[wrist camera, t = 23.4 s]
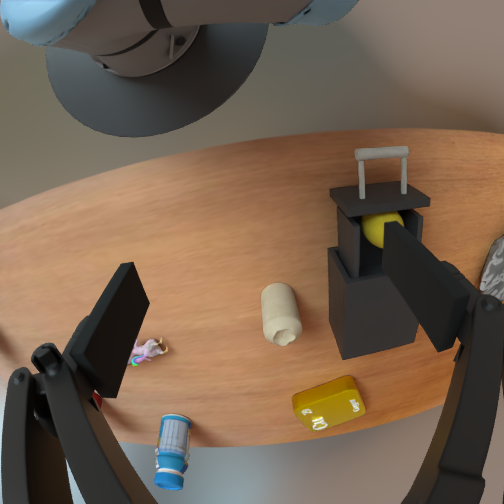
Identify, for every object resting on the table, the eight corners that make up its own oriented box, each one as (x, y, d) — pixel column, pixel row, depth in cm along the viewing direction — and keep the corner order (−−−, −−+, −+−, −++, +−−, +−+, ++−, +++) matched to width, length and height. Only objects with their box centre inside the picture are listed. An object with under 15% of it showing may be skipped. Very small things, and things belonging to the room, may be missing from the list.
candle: (295, 282, 48) (306, 323, 39) (292, 309, 50) (301, 351, 41) (261, 281, 47) (265, 323, 38) (259, 309, 50) (262, 352, 41)
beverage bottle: (180, 410, 65) (171, 481, 47) (198, 425, 68) (193, 491, 51) (154, 414, 66) (142, 480, 49) (173, 429, 70) (165, 491, 52)
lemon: (392, 220, 41) (418, 244, 34) (362, 238, 42) (383, 266, 35) (379, 188, 38) (406, 208, 31) (347, 208, 40) (368, 232, 33)
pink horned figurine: (158, 325, 53) (95, 343, 52) (157, 346, 48) (89, 363, 47) (172, 347, 56) (110, 364, 55) (172, 369, 50) (106, 384, 50)
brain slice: (466, 256, 47) (474, 263, 44) (517, 210, 42) (526, 216, 39) (477, 312, 54) (483, 320, 52) (522, 272, 50) (529, 278, 47)
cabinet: (327, 248, 45) (345, 283, 36) (400, 236, 44) (430, 266, 36) (328, 320, 52) (342, 360, 43) (393, 307, 51) (414, 342, 42)
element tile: (363, 400, 66) (368, 415, 62) (309, 420, 69) (312, 435, 65) (351, 372, 59) (356, 389, 55) (288, 395, 62) (291, 412, 58)
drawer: (325, 144, 37) (344, 154, 30) (401, 139, 36) (431, 149, 29) (333, 272, 46) (347, 302, 39) (398, 260, 45) (420, 287, 38)
